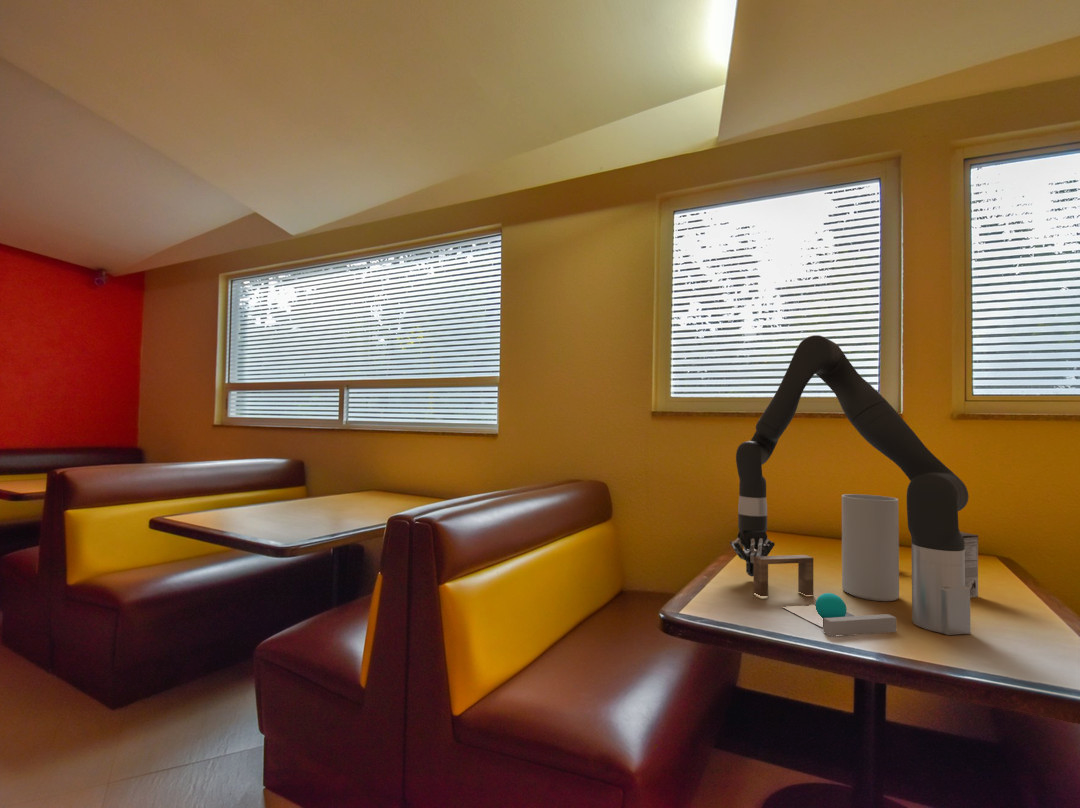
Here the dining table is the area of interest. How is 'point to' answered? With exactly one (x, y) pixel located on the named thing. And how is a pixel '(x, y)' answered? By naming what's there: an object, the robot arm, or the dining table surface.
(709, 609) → the dining table surface
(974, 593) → the coffee box
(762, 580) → the bridge
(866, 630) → the stopper wall
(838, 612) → the ball
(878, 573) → the cylinder vase
